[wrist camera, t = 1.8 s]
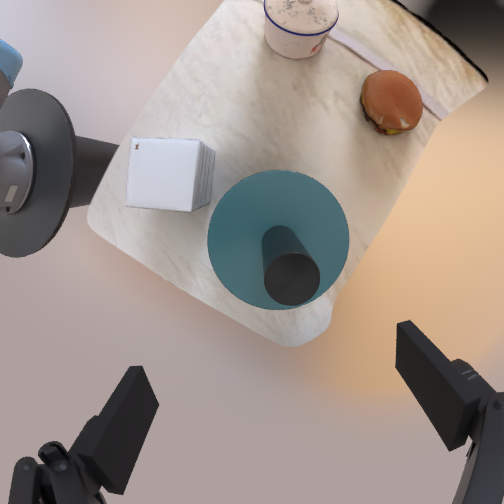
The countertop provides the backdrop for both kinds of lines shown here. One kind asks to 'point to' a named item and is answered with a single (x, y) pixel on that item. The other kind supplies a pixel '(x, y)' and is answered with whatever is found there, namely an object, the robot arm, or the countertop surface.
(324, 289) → the tin lid
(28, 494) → the robot arm
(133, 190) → the white packaging box
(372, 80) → the burger
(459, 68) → the countertop surface
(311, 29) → the teacup with lid
